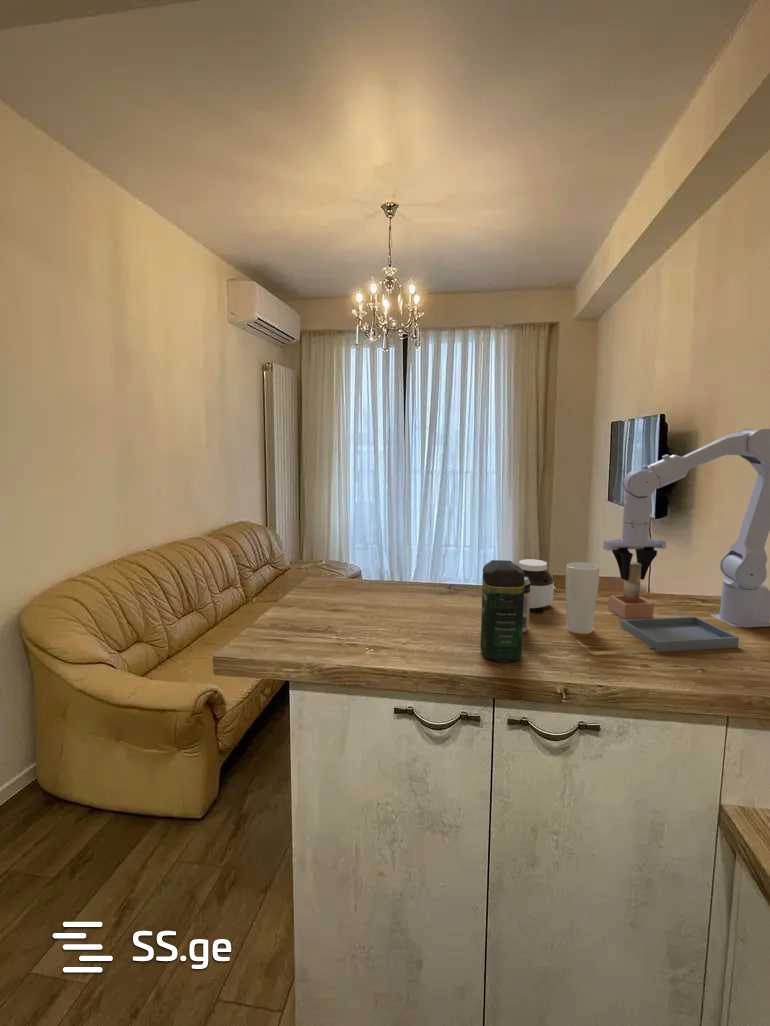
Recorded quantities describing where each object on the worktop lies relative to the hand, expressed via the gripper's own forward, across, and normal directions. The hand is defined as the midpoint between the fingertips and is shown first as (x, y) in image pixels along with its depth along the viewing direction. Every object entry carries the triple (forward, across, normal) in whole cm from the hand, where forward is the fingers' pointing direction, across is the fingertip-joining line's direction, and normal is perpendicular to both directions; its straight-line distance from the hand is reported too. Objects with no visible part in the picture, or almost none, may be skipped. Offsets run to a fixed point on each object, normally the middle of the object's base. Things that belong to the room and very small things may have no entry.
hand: (632, 578), depth 130 cm
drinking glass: (+9, +17, +8) cm, 21 cm away
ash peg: (+4, 0, 0) cm, 4 cm away
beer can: (+9, +30, +6) cm, 32 cm away
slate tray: (+9, -2, +14) cm, 17 cm away
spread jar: (+9, +23, -8) cm, 26 cm away
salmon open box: (+9, 0, 0) cm, 9 cm away
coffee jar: (+9, +38, +18) cm, 43 cm away
